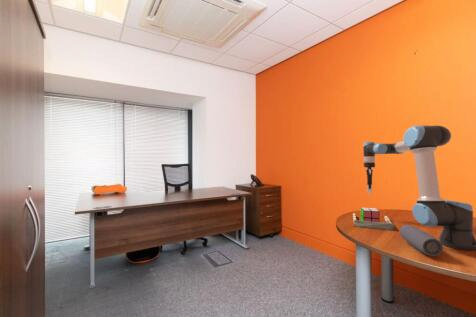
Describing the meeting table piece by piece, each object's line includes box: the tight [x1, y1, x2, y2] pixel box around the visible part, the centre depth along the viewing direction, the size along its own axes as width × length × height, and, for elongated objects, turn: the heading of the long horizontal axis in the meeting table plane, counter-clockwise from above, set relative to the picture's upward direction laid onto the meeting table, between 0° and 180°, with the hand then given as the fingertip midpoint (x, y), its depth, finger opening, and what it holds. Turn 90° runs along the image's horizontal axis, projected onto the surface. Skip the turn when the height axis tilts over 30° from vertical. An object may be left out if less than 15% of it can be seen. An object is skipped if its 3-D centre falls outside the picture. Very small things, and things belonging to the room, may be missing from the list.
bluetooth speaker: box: [399, 224, 444, 257], centre depth 118 cm, size 23×9×10 cm, turn 168°
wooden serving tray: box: [352, 212, 395, 231], centre depth 167 cm, size 30×23×4 cm
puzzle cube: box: [360, 207, 381, 222], centre depth 166 cm, size 10×10×10 cm
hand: (369, 193), depth 178 cm, fingers closed
